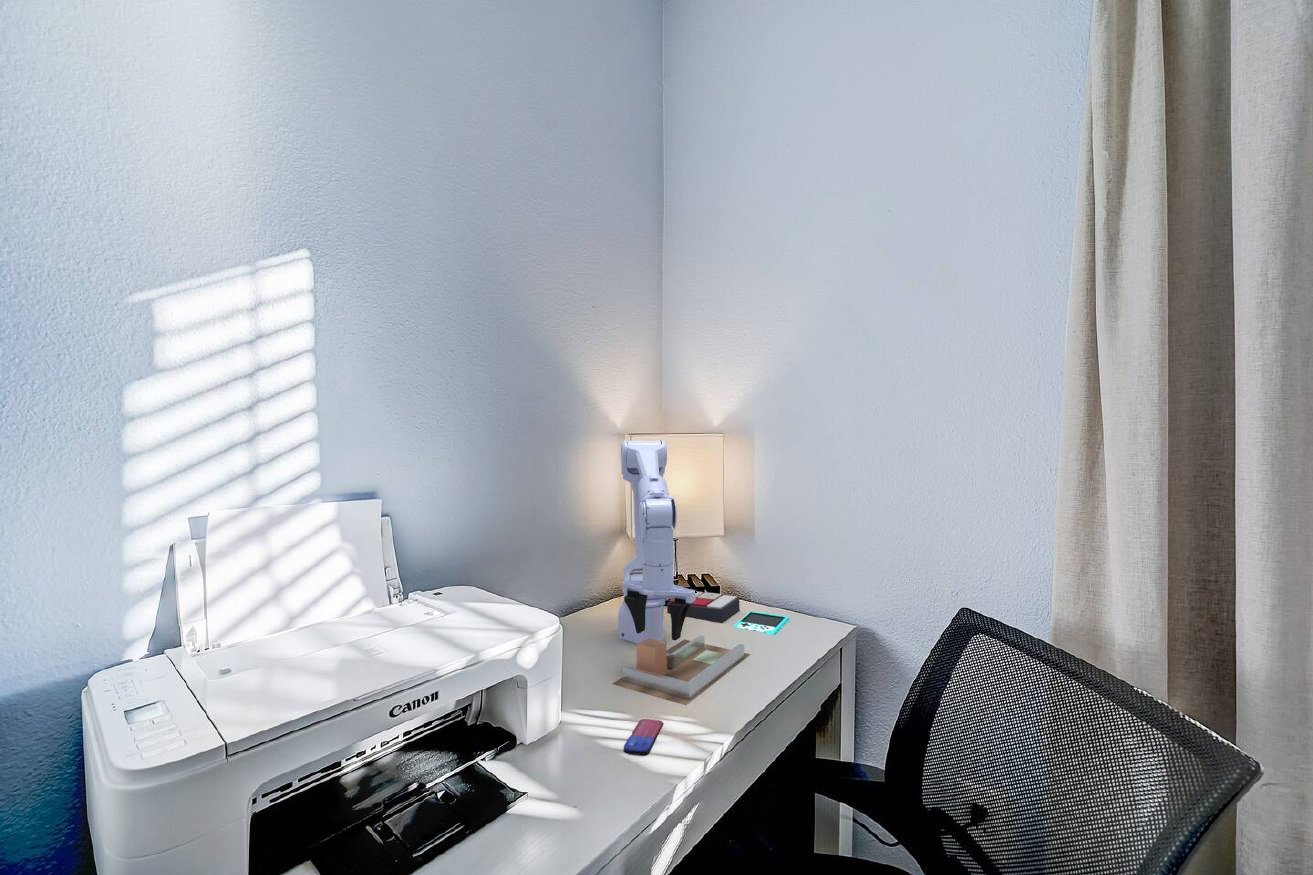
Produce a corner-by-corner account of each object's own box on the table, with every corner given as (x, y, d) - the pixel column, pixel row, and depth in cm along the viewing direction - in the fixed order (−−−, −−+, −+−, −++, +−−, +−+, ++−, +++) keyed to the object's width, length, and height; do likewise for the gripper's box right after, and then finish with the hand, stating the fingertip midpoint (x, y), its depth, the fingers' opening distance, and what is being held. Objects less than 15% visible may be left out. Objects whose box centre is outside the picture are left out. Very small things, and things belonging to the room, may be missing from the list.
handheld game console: (726, 635, 143) (726, 629, 143) (749, 615, 157) (749, 609, 157) (769, 643, 139) (769, 636, 139) (789, 621, 153) (789, 615, 153)
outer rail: (622, 680, 116) (622, 667, 116) (683, 643, 135) (683, 631, 134) (689, 699, 109) (689, 685, 108) (744, 656, 127) (744, 644, 127)
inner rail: (649, 664, 124) (649, 651, 124) (683, 643, 135) (683, 631, 134) (671, 669, 121) (671, 656, 121) (704, 647, 132) (704, 635, 132)
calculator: (686, 588, 167) (739, 594, 159) (687, 605, 167) (740, 611, 159) (665, 600, 157) (721, 606, 150) (666, 617, 157) (722, 624, 150)
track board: (612, 689, 115) (611, 683, 115) (684, 643, 137) (684, 638, 137) (686, 710, 107) (686, 704, 107) (750, 658, 128) (750, 653, 128)
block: (636, 676, 118) (636, 644, 118) (648, 668, 121) (648, 637, 121) (654, 681, 116) (654, 648, 116) (666, 673, 119) (666, 641, 119)
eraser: (641, 725, 103) (641, 714, 103) (666, 727, 102) (666, 716, 102) (620, 760, 92) (620, 748, 92) (647, 763, 91) (647, 751, 91)
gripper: (613, 562, 118) (613, 634, 119) (683, 572, 111) (683, 649, 111) (633, 555, 124) (633, 623, 125) (700, 563, 117) (700, 636, 118)
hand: (658, 634), depth 118 cm, fingers open, 7 cm apart
